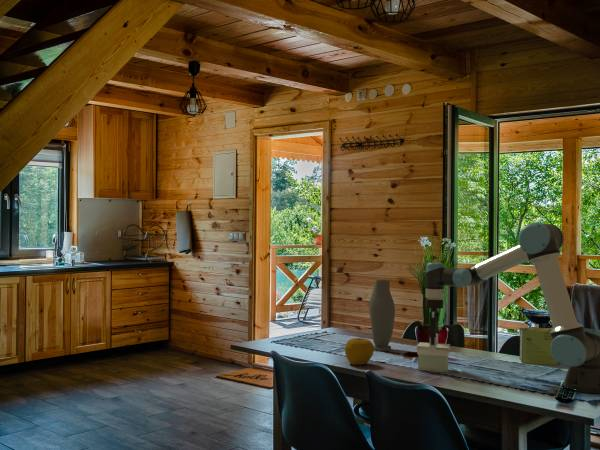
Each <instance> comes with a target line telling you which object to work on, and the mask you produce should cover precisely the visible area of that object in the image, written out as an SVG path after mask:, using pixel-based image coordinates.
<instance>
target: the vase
mask: <svg viewBox="0 0 600 450" xmlns="http://www.w3.org/2000/svg"><path fill="white" fill-rule="evenodd" d="M390 283H391V282H390V280H389V279H375V281H374V286H373V289H372V292H371V296H370V298H369V304H368V306H369V308H368V310H369V317H370V327H371V332H372V333H371V335H372V341H373V346H374V351H376V350H377V352H389V350H390V351H392V346H391V345H390V341H391V339H392V336H393V332H394V327H395V326H394V325H395V318H396V317H395V315H396V310H395V309H396V308H395V307H396V306H395V301H394V298H393V297H392V294H391V287H390Z"/></svg>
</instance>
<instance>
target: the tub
mask: <svg viewBox="0 0 600 450" xmlns="http://www.w3.org/2000/svg"><path fill="white" fill-rule="evenodd" d="M417 355H418V356H417V365H418V366H417V371H424V372H437V373H448V370H449V356H435V355H421V354H417Z"/></svg>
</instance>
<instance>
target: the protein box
mask: <svg viewBox="0 0 600 450" xmlns="http://www.w3.org/2000/svg"><path fill="white" fill-rule="evenodd" d="M552 328H553V327H552ZM552 328H551V327H548V328H546V327H524V326H520V327H519V361H520V360H521V361H520V362H521V363H522V364H527V363H531V364H530V365H542V364H549V365H548V366H558V362H557V361H556V360H555V359H554V358H553V356H552V354H551V351H550V346H551V343H552V338H551V334H550V331H551V330H552Z"/></svg>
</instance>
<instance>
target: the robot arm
mask: <svg viewBox="0 0 600 450" xmlns="http://www.w3.org/2000/svg"><path fill="white" fill-rule="evenodd" d="M564 241H565V235H564V232H563V230H562V229H561V228H560V227H558V225H555V224H553V223H544V222H543V223H542V222H532V223H529V224H526V225H525V226H524V227H523V228H521V230H520V232H519V233H518V244H516V245H514V246H512V247H509V248H507V249H506V250H504V251H501V252H499V253H497V254H495V255H493V256H491V257H489V258H487V259H484V260H481V262H477V263H476V264H474V265H472V266H470V267H463V268H461V267H460V268H455V267H453V268H452V267H451V268H450V267H445V264H444V263H443V262H427V264H426V268H425V302H424V303H425V308H427V309H430V311H429V313H428V316H429V333H428V335H427V338H429V342H428V343H429V353H436V343H438V344H439V334H440V332H441V331H440V330H439V319H440V317H439V316H440V312H439V310H440V309H443V308H444V294H446V292H445V291H444V289H445V288H444V287H446V286H448V287H458V288H467V287H470V286H478V285H481V284H482V282H483V281H485V280H487V279H489V278H492V277H494V276H496V275H499V274H502V273H503V272H506V271H507V270H510V269H512V268H514V267H517V266H519V265H521V264H523V263H525V262H527V261H529V263H531V264H532V265H534V267H535V272H536V275H537V279H538V281H539V285H540V289H541V291H542V294H543V299H544V302H545V305H546V308H547V313H548V316H549V319H550V322H551V325H552V330H551V331H550V334H551V338H552V343H551V346H550V351H551V354H552V356H553V358H554V359H555V360H556V361H557V364H559V365H561V366H562V367H563V366H564V367H568V369H567V372H566V375H565V378H564V380H563V387H564V386H565V387H568V388H572V389H576V390H577V391H576V392H579V393H584V394H585V393H586V394H600V329H594V328H586V327H585V328H584V325H583V324H582V323H579V322H578V320H577V318H576V315H575V310H574V307H573V305H572V301H571V298H570V295H569V291H568V289H567V284H566V281H565V279H564V275H563V272H562V269H561V265H560V263H559V257H560V256H561V251H560V249H562V247H563V246H564ZM565 387H564V388H565Z"/></svg>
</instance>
